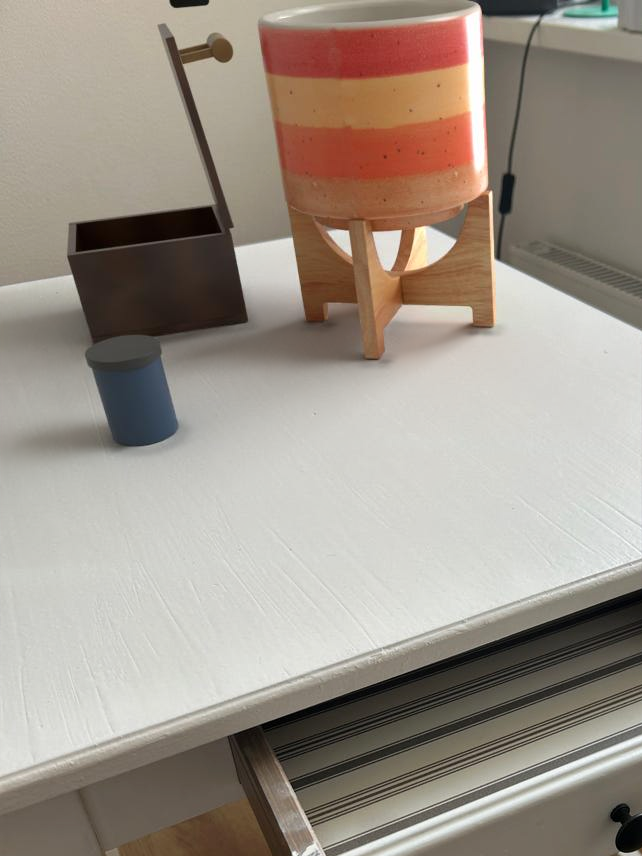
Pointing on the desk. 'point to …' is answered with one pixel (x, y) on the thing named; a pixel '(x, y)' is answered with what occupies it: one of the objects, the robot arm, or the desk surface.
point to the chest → (156, 273)
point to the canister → (133, 389)
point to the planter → (383, 152)
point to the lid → (222, 53)
